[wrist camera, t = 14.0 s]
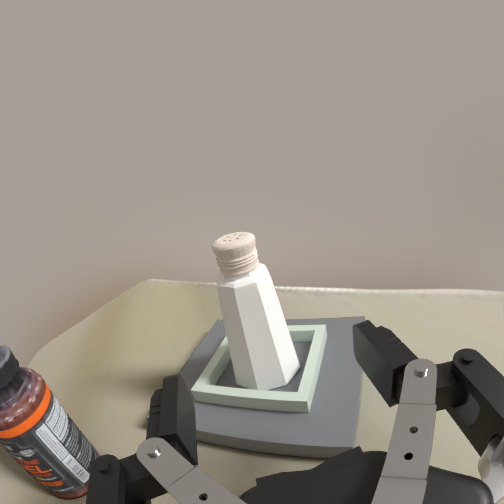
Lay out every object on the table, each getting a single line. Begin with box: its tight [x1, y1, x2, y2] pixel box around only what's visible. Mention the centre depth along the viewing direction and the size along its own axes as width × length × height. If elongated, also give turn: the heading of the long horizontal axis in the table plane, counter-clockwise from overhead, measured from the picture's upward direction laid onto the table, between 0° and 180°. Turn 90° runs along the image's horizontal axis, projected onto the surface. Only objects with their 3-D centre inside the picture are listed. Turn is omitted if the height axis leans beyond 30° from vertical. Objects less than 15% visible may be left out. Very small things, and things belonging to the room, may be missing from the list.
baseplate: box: [146, 316, 365, 458], centre depth 24 cm, size 15×14×3 cm
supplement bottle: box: [0, 346, 100, 499], centre depth 15 cm, size 6×6×11 cm
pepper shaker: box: [212, 232, 300, 391], centre depth 22 cm, size 5×5×11 cm
